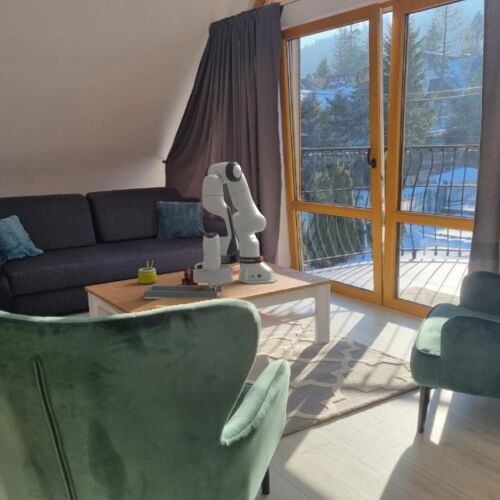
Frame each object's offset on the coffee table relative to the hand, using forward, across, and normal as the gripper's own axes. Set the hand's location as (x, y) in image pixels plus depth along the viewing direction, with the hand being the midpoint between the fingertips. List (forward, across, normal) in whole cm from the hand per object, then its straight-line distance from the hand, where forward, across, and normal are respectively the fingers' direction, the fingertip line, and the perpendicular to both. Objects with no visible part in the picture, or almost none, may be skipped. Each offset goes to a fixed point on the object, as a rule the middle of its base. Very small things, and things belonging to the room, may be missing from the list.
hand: (213, 291), depth 294 cm
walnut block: (+2, +6, 0) cm, 6 cm away
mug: (+3, +44, -30) cm, 53 cm away
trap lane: (+3, +16, 0) cm, 16 cm away
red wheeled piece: (+3, +18, -21) cm, 28 cm away
